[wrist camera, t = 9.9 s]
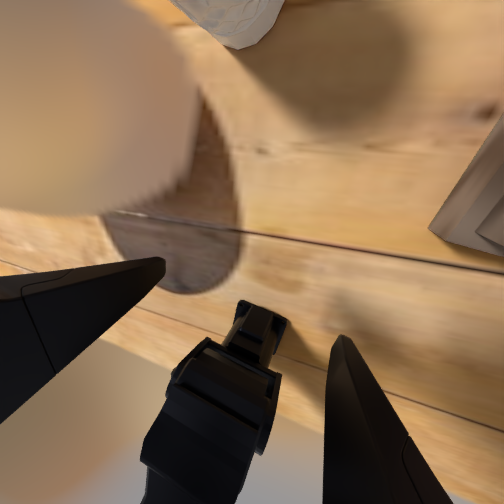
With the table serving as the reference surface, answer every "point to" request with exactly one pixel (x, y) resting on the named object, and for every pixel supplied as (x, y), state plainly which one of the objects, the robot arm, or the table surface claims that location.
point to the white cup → (232, 18)
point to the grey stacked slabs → (477, 200)
